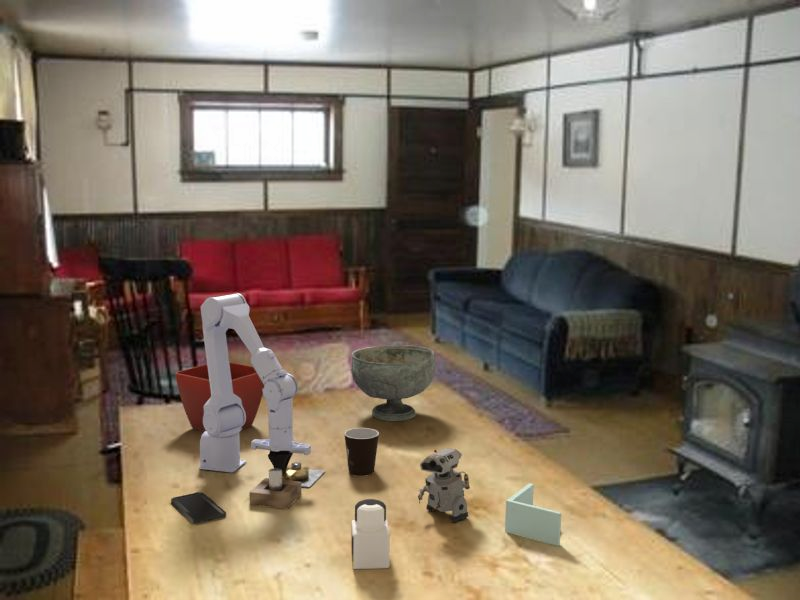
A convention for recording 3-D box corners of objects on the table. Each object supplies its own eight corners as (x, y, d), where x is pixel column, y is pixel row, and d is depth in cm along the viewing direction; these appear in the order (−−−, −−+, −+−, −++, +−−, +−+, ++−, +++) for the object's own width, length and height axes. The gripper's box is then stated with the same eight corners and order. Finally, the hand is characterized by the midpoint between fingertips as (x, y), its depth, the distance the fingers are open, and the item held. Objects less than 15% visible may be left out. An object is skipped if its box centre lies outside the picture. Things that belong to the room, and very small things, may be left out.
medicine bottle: (351, 552, 171) (351, 496, 169) (387, 552, 172) (387, 495, 170) (352, 570, 164) (352, 510, 162) (389, 568, 165) (390, 509, 163)
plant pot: (269, 424, 252) (269, 368, 249) (223, 442, 236) (222, 382, 233) (222, 413, 262) (220, 359, 259) (174, 429, 246) (173, 372, 243)
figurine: (407, 517, 188) (408, 452, 186) (444, 504, 196) (446, 441, 193) (436, 531, 181) (437, 463, 179) (473, 516, 189) (475, 451, 187)
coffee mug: (374, 479, 210) (374, 440, 209) (340, 476, 212) (340, 437, 210) (384, 462, 222) (384, 425, 220) (352, 460, 223) (352, 423, 222)
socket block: (249, 504, 194) (249, 492, 194) (265, 489, 203) (265, 477, 202) (286, 509, 192) (286, 496, 191) (301, 494, 200) (301, 481, 200)
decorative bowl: (436, 427, 249) (436, 360, 246) (348, 428, 249) (347, 360, 247) (434, 405, 275) (434, 344, 273) (354, 405, 276) (353, 344, 273)
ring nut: (273, 484, 205) (273, 472, 204) (289, 469, 214) (289, 458, 214) (297, 486, 203) (297, 475, 203) (312, 472, 213) (312, 461, 212)
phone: (202, 491, 199) (227, 513, 187) (202, 496, 200) (227, 518, 187) (169, 498, 195) (193, 521, 183) (169, 503, 195) (193, 526, 183)
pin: (267, 501, 196) (266, 472, 195) (272, 496, 199) (271, 467, 198) (279, 502, 195) (279, 473, 194) (284, 497, 198) (284, 468, 197)
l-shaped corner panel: (558, 548, 176) (559, 513, 174) (504, 534, 182) (506, 500, 181) (579, 527, 186) (580, 495, 184) (528, 514, 192) (529, 483, 191)
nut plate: (266, 483, 207) (266, 481, 207) (284, 467, 217) (284, 466, 217) (309, 488, 204) (309, 486, 204) (325, 471, 215) (325, 470, 215)
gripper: (245, 427, 202) (246, 482, 204) (303, 433, 198) (303, 489, 201) (257, 419, 209) (258, 472, 211) (313, 424, 205) (314, 478, 207)
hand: (281, 480), depth 206 cm, fingers closed, pressing on ring nut
